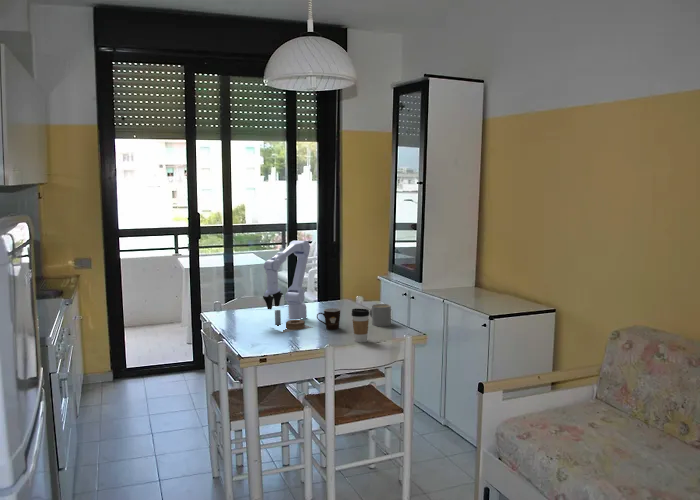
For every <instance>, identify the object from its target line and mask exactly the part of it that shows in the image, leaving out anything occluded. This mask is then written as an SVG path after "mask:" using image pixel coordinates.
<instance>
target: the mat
mask: <svg viewBox="0 0 700 500" xmlns="http://www.w3.org/2000/svg"><path fill="white" fill-rule="evenodd" d="M313 328H314V327H313V326H309V325H307V324H305V327H304V328H303V329H297V330H295V329H285V330H283V332H280V333H281V334H283V333H290V332H295V331H302V330H308V329H313Z"/></svg>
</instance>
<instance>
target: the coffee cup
mask: <svg viewBox="0 0 700 500" xmlns="http://www.w3.org/2000/svg"><path fill="white" fill-rule="evenodd" d="M369 316H370V309H367V308H352V309H351V317H352V320H351V321H352V329H353V336H354V337H353V338H354V341H355V342H357V343H365V342H368V333H369V332H368V331H369V321H370V319H369Z"/></svg>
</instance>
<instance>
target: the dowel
mask: <svg viewBox="0 0 700 500" xmlns="http://www.w3.org/2000/svg"><path fill="white" fill-rule="evenodd" d="M281 315H282V314H281V309H276V310H275V309H274V325H277V326H279V325H281V324H282V321H281V320H282V319H281V318H282V317H281Z"/></svg>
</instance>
